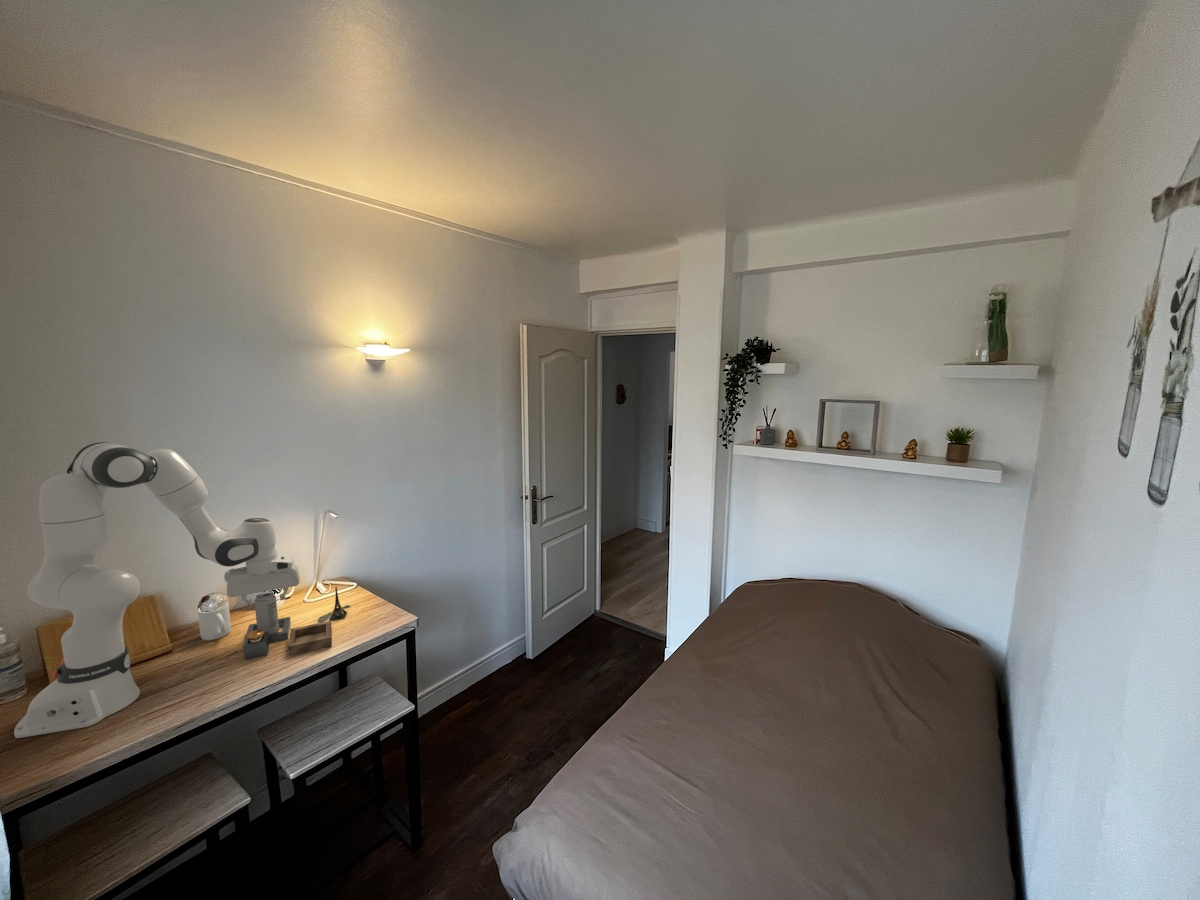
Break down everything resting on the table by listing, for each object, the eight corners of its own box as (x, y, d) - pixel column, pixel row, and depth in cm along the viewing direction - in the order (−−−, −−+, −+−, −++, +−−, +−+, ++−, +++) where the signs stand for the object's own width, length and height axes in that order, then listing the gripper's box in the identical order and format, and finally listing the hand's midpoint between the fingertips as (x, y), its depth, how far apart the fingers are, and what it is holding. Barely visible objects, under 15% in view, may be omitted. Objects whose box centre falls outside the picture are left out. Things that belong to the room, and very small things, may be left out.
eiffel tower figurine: (348, 605, 186) (346, 573, 184) (364, 612, 181) (362, 579, 179) (309, 622, 173) (306, 588, 171) (326, 630, 168) (323, 595, 166)
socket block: (240, 661, 148) (238, 646, 148) (250, 631, 166) (248, 617, 165) (286, 651, 154) (284, 637, 153) (290, 623, 171) (289, 610, 171)
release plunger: (247, 656, 150) (245, 638, 149) (249, 649, 154) (247, 631, 153) (264, 652, 152) (262, 634, 151) (266, 645, 156) (264, 628, 155)
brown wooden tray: (288, 656, 151) (287, 646, 151) (291, 638, 162) (290, 628, 161) (331, 646, 157) (330, 637, 157) (331, 629, 167) (331, 620, 167)
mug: (239, 636, 162) (236, 608, 160) (209, 647, 155) (205, 618, 154) (226, 625, 169) (223, 598, 167) (197, 635, 162) (193, 607, 161)
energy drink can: (265, 630, 166) (261, 590, 164) (283, 630, 166) (279, 590, 164) (253, 639, 160) (249, 598, 158) (271, 640, 160) (267, 598, 158)
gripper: (221, 573, 152) (226, 613, 154) (296, 562, 162) (300, 599, 164) (225, 566, 157) (230, 605, 159) (298, 555, 167) (301, 592, 169)
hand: (266, 602), depth 162 cm, fingers open, 8 cm apart
